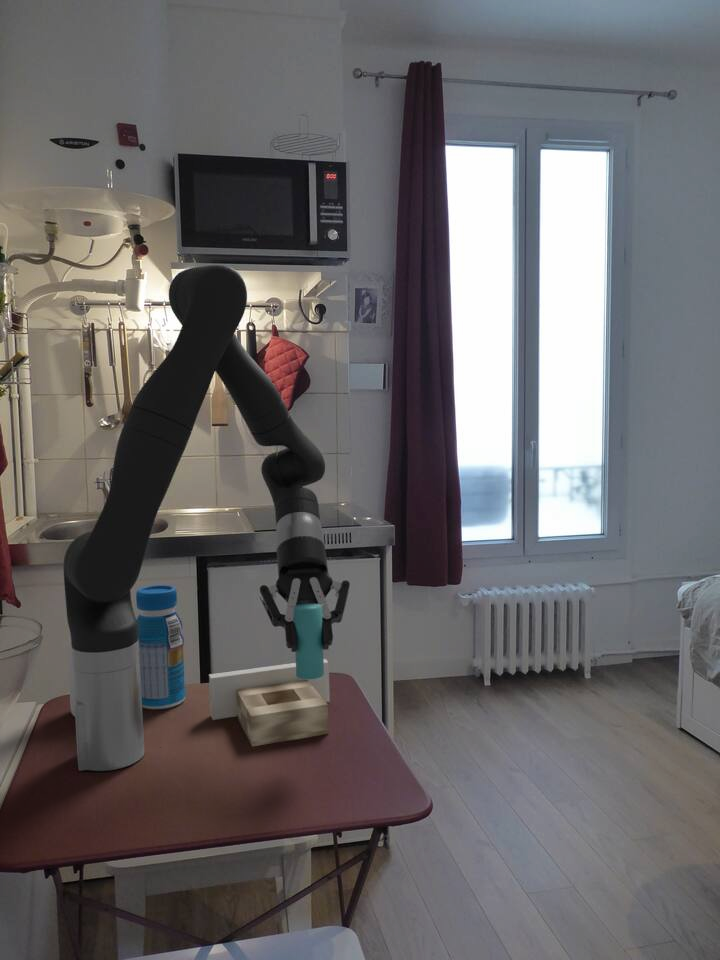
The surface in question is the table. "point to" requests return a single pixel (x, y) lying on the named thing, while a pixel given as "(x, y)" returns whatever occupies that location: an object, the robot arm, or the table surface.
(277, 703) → the socket block
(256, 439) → the robot arm
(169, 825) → the table surface
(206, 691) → the table surface
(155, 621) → the beverage bottle
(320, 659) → the teal rounded cylinder
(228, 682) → the backstop wall
